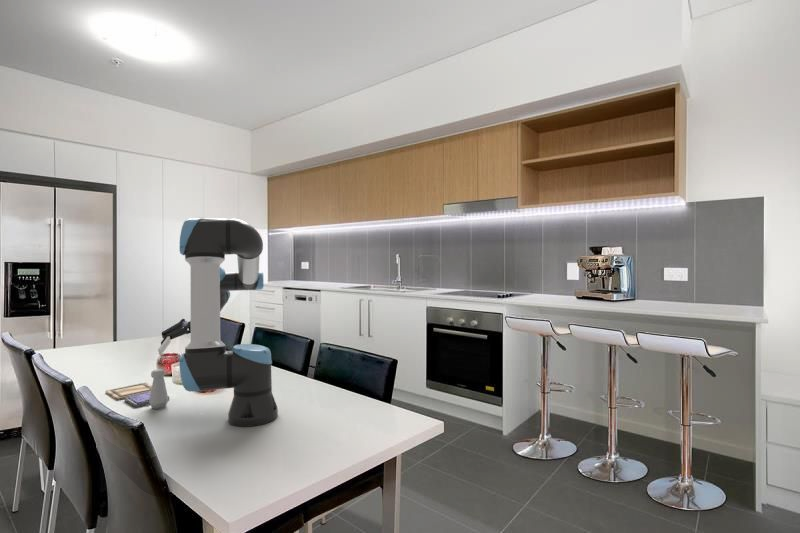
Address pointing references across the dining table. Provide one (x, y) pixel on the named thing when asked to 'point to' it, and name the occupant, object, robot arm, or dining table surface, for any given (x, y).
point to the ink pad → (139, 399)
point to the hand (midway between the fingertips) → (178, 356)
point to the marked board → (129, 391)
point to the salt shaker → (158, 390)
